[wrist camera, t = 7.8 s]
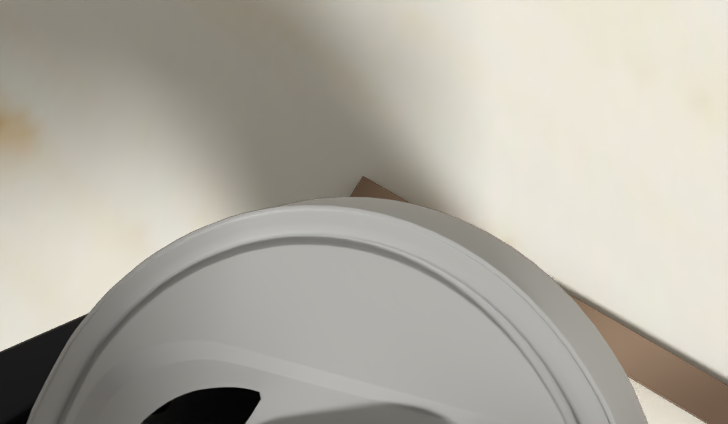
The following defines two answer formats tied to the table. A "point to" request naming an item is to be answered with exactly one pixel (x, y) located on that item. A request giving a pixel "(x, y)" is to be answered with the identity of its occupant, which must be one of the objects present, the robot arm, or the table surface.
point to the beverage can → (337, 329)
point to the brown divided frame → (636, 354)
